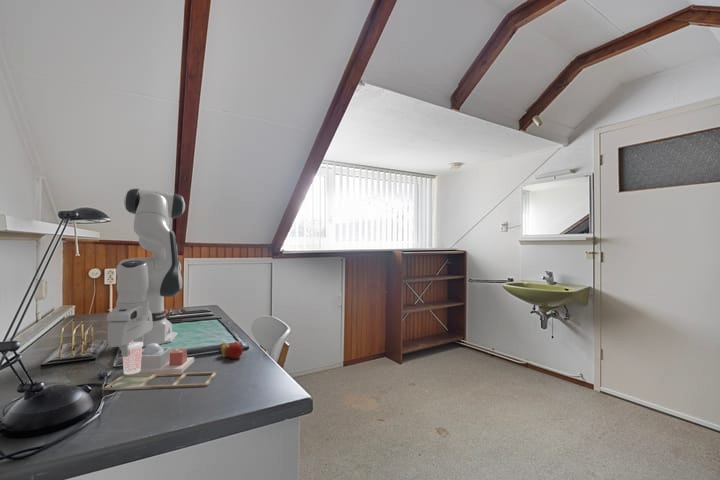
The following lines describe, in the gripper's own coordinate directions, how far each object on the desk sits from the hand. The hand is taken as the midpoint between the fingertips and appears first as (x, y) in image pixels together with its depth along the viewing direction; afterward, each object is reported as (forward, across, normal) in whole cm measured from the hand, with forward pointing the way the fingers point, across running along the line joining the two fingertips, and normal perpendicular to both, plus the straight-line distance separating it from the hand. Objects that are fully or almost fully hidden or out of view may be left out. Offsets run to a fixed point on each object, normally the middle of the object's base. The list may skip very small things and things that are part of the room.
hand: (132, 352), depth 112 cm
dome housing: (+10, -13, +4) cm, 17 cm away
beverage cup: (+7, 0, 0) cm, 7 cm away
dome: (+8, -13, 0) cm, 15 cm away
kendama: (+10, -26, +24) cm, 37 cm away
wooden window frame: (+10, 0, +10) cm, 14 cm away
